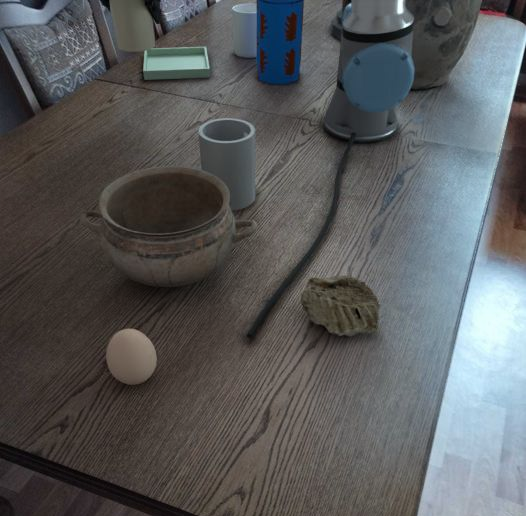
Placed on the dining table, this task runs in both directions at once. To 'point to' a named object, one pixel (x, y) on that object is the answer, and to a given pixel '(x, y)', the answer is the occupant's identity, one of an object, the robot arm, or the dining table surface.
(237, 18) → the mug
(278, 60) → the thermos
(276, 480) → the dining table surface
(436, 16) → the clay pot
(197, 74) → the tray
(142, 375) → the egg
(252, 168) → the cup
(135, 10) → the jar
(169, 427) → the dining table surface
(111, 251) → the cooking pot
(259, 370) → the dining table surface
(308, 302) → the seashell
